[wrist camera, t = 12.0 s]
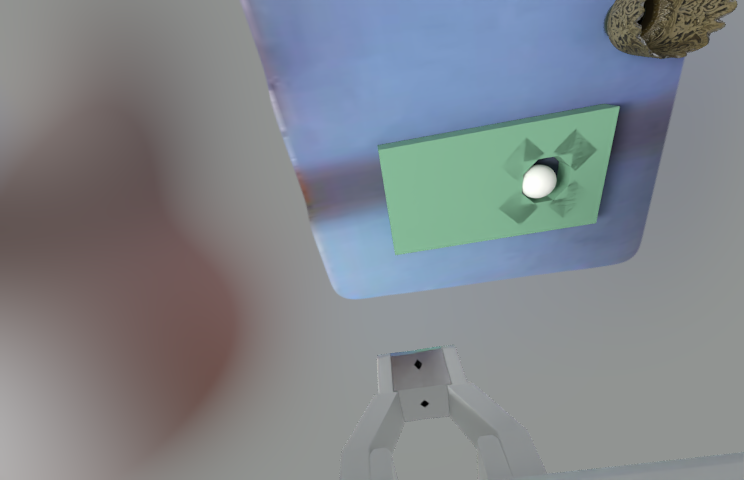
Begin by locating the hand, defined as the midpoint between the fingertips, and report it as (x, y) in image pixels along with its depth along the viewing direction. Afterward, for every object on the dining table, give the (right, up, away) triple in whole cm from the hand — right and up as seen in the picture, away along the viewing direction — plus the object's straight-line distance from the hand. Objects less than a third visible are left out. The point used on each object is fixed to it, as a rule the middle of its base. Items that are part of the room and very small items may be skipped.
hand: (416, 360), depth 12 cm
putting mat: (+13, +12, +27) cm, 32 cm away
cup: (+23, +27, +19) cm, 40 cm away
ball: (+18, +12, +25) cm, 33 cm away
